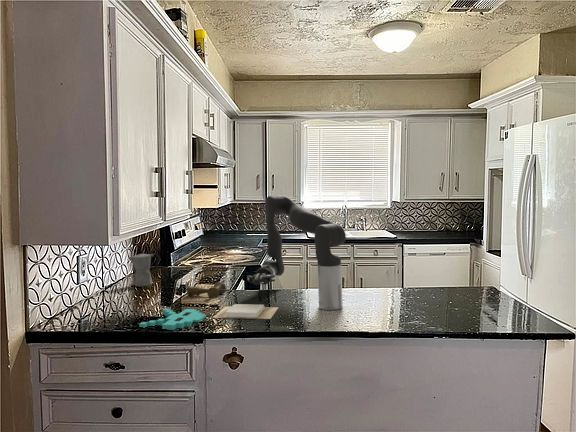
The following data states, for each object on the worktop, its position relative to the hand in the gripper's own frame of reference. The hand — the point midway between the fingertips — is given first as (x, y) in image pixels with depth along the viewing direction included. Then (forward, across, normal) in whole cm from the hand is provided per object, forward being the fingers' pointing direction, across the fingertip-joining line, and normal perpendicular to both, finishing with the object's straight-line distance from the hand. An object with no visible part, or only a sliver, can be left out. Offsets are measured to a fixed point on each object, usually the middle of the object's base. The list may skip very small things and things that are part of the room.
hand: (256, 282), depth 190 cm
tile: (+11, 0, +7) cm, 13 cm away
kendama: (-13, -26, +9) cm, 30 cm away
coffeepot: (-35, -68, +8) cm, 77 cm away
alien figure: (+24, -24, +10) cm, 36 cm away
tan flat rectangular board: (+15, 0, +10) cm, 18 cm away
